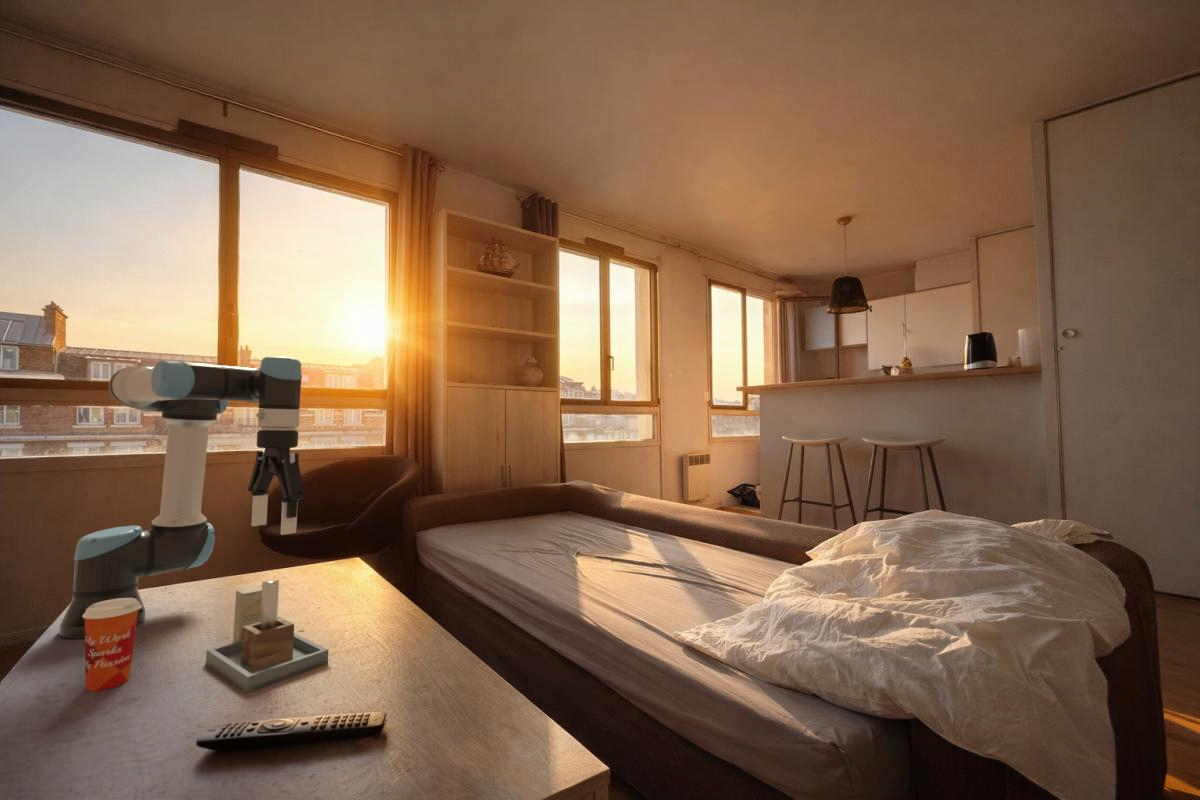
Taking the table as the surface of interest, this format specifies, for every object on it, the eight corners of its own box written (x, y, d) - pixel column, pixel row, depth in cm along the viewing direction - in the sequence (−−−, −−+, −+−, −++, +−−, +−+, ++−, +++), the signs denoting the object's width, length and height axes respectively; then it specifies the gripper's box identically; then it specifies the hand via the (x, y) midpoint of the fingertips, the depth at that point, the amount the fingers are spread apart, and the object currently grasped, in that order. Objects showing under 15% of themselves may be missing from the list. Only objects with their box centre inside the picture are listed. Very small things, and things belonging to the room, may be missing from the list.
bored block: (240, 661, 107) (242, 626, 108) (277, 649, 113) (278, 616, 113) (255, 670, 103) (257, 634, 104) (292, 657, 109) (294, 624, 109)
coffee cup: (68, 698, 93) (74, 613, 94) (87, 678, 101) (93, 600, 101) (129, 688, 97) (134, 607, 98) (143, 669, 104) (148, 594, 105)
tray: (205, 663, 108) (206, 649, 108) (283, 640, 120) (283, 627, 120) (247, 692, 96) (248, 677, 96) (327, 663, 108) (328, 649, 109)
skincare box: (238, 650, 114) (241, 594, 115) (231, 644, 117) (234, 590, 118) (270, 641, 119) (273, 587, 120) (263, 636, 122) (266, 584, 123)
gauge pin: (256, 650, 108) (259, 582, 109) (271, 645, 110) (275, 578, 111) (262, 654, 106) (266, 584, 107) (278, 649, 109) (281, 581, 109)
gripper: (234, 428, 115) (228, 524, 114) (287, 430, 101) (281, 540, 99) (270, 428, 121) (266, 519, 120) (326, 430, 107) (321, 534, 106)
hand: (273, 529), depth 110 cm, fingers open, 13 cm apart
